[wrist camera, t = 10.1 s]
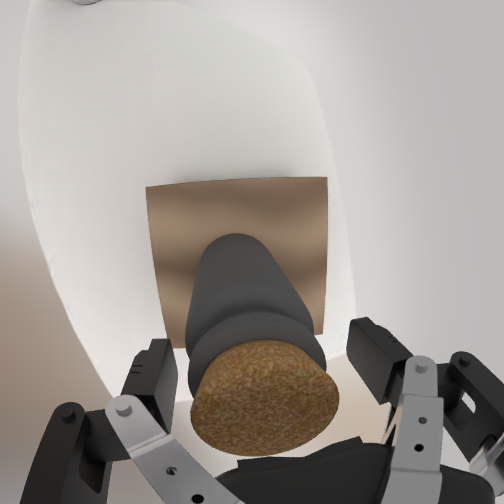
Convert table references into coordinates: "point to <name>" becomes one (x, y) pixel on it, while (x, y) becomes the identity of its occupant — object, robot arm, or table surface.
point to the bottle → (253, 354)
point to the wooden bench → (238, 221)
